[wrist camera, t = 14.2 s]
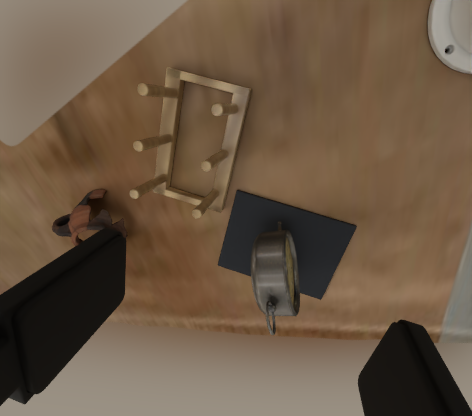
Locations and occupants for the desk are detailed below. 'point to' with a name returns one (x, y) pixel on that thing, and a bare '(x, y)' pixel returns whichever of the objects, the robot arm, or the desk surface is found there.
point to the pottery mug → (86, 220)
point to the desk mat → (303, 233)
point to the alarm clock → (275, 274)
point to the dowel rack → (169, 137)
